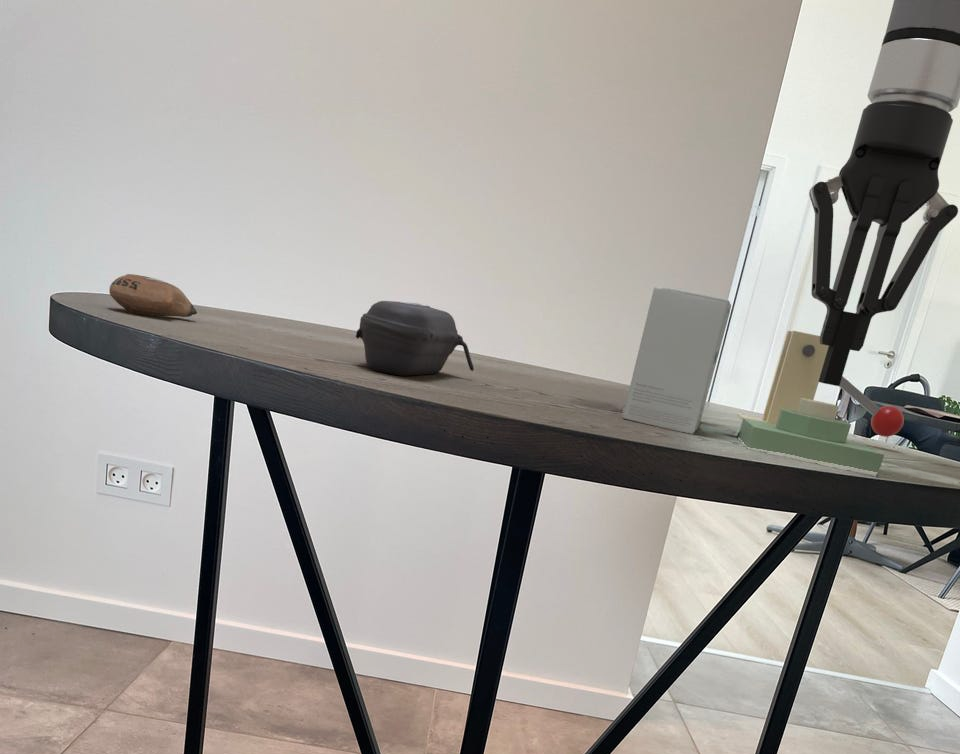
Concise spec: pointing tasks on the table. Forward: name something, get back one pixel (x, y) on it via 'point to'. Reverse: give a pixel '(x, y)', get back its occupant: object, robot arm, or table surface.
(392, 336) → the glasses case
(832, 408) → the button
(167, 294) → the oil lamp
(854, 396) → the lever
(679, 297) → the white packaging box
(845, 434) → the button box
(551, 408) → the table surface
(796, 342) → the bracket
